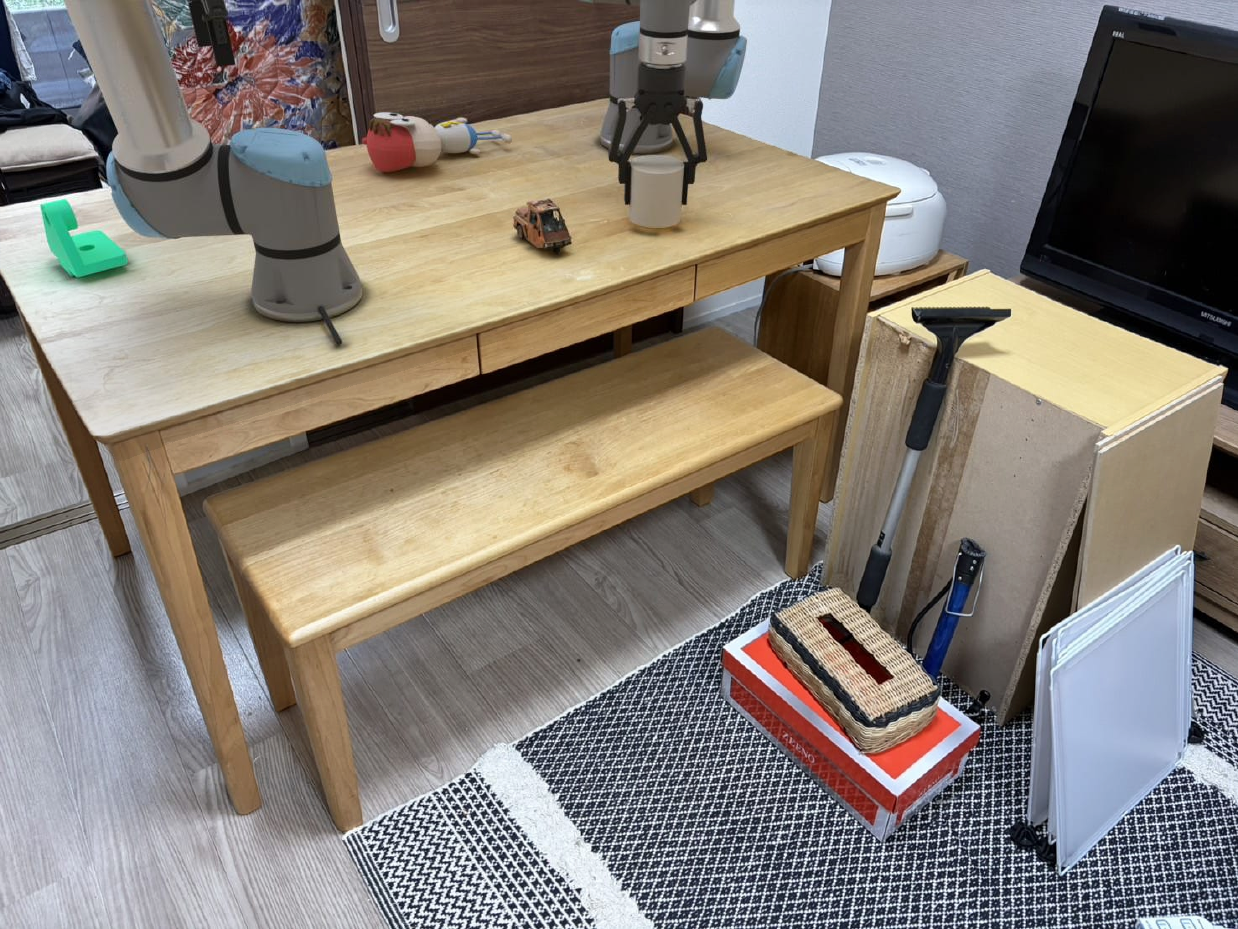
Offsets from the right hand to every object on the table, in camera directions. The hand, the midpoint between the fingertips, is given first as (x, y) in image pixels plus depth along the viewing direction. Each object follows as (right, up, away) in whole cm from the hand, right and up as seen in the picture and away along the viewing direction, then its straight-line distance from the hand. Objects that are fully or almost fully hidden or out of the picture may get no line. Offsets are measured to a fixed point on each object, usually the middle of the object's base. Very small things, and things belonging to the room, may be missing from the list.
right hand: (655, 201), depth 158 cm
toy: (-42, +16, +26) cm, 52 cm away
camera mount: (-87, -14, -16) cm, 90 cm away
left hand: (-70, +20, -12) cm, 74 cm away
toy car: (-19, -8, -6) cm, 21 cm away
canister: (0, -2, +2) cm, 3 cm away
